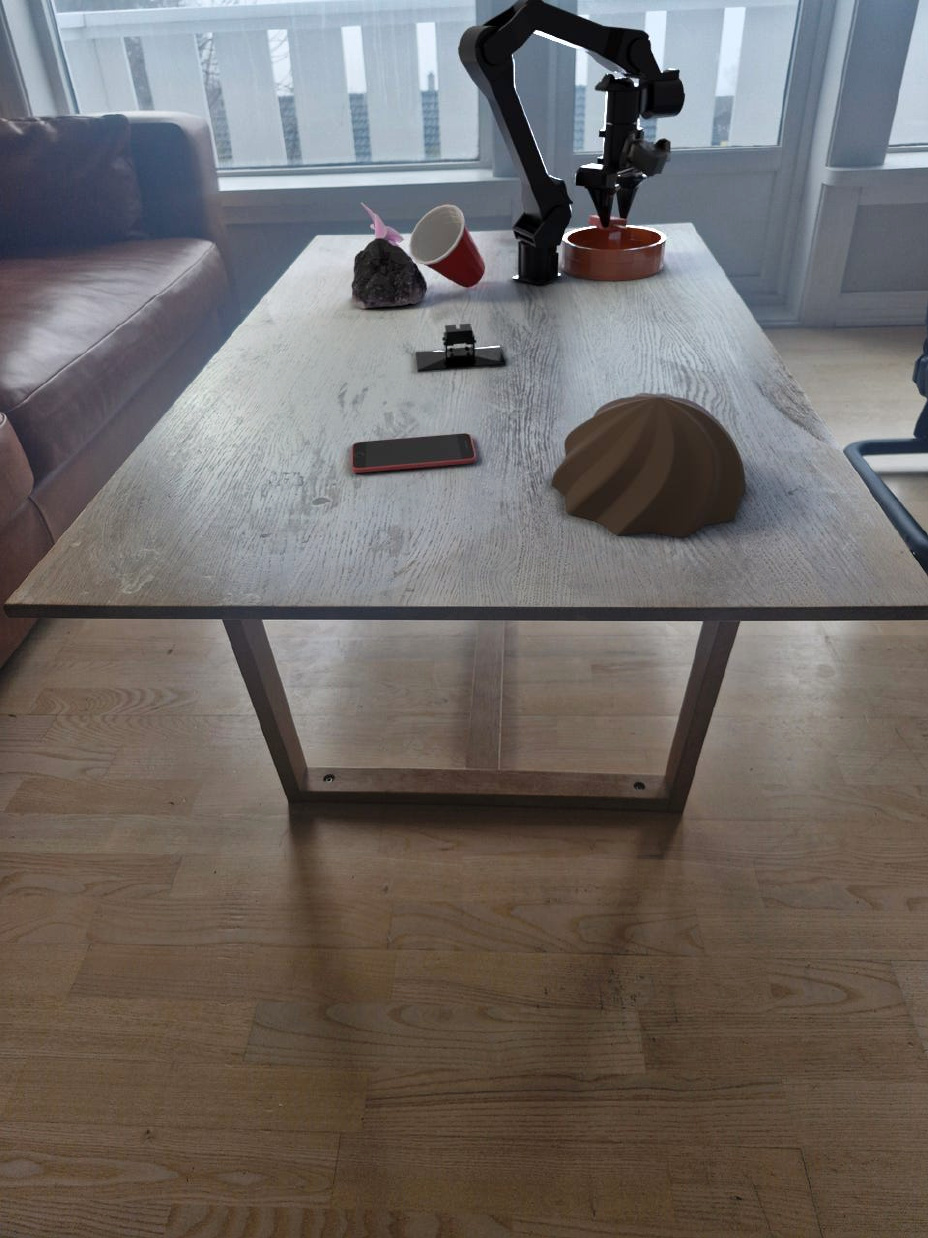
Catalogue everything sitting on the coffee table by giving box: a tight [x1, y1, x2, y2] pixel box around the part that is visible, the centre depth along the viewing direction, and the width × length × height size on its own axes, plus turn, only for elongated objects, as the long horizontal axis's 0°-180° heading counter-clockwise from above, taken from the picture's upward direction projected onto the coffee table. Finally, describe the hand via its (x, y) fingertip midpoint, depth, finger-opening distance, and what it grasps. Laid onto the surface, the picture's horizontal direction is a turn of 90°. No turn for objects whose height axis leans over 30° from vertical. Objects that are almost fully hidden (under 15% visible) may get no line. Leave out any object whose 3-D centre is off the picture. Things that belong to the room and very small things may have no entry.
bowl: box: [561, 225, 667, 282], centre depth 146 cm, size 18×18×5 cm
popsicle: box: [588, 214, 628, 230], centre depth 144 cm, size 4×2×15 cm
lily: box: [360, 202, 405, 248], centre depth 156 cm, size 12×12×10 cm
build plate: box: [415, 323, 507, 373], centre depth 112 cm, size 12×7×5 cm, turn 95°
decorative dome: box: [551, 392, 747, 538], centre depth 80 cm, size 19×20×10 cm
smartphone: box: [350, 432, 477, 474], centre depth 90 cm, size 7×1×14 cm
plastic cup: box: [408, 203, 486, 289], centre depth 135 cm, size 11×11×12 cm
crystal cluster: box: [351, 237, 428, 310], centre depth 135 cm, size 13×14×10 cm
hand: (614, 223), depth 143 cm, fingers closed on popsicle, 6 cm apart
